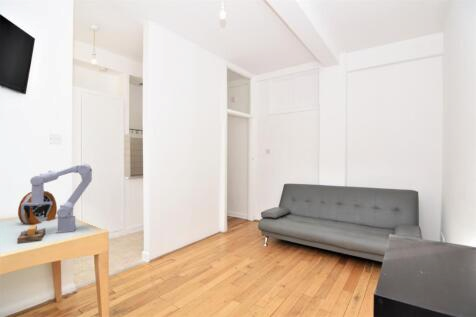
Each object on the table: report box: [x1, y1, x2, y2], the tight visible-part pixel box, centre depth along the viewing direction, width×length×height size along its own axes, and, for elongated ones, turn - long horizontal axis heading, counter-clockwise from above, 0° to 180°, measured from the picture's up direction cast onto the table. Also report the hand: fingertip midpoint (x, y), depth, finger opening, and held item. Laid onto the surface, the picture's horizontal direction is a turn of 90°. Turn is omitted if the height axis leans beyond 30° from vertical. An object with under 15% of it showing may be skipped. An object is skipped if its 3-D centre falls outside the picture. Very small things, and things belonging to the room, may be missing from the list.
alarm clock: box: [17, 190, 58, 226], centre depth 173 cm, size 22×10×23 cm, turn 171°
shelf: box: [16, 228, 46, 245], centre depth 139 cm, size 10×15×5 cm, turn 32°
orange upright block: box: [27, 225, 38, 235], centre depth 139 cm, size 3×7×6 cm, turn 32°
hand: (37, 217), depth 148 cm, fingers open, 7 cm apart
